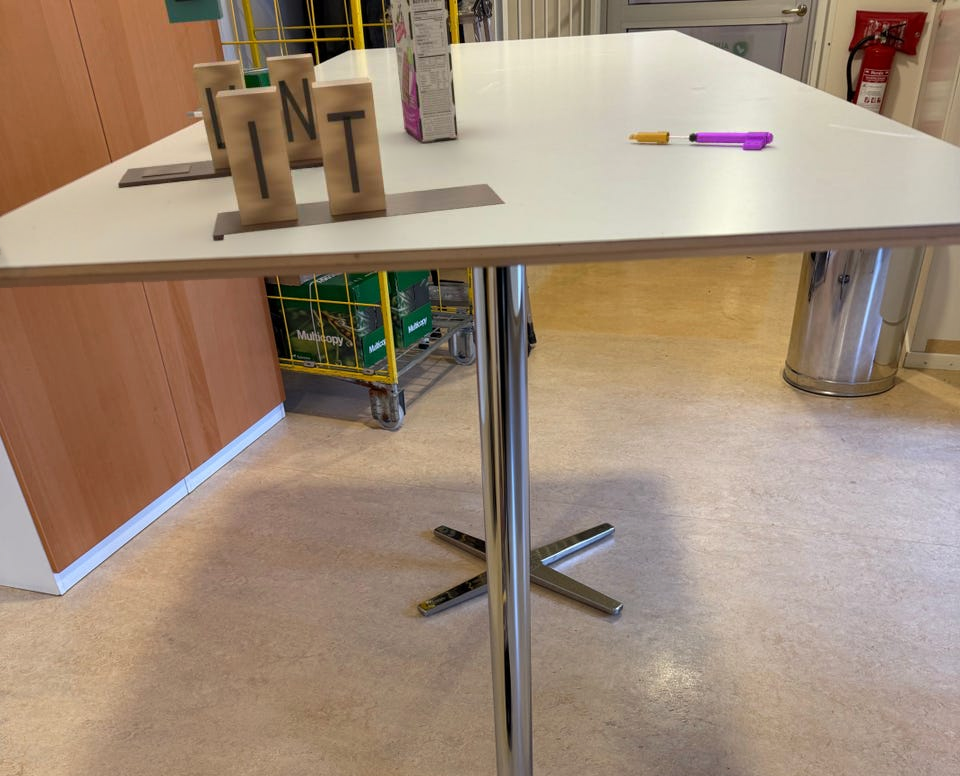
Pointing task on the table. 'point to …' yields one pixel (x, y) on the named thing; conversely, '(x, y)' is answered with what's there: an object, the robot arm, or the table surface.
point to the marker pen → (710, 138)
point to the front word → (345, 161)
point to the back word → (210, 78)
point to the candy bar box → (425, 68)
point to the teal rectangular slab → (193, 10)
